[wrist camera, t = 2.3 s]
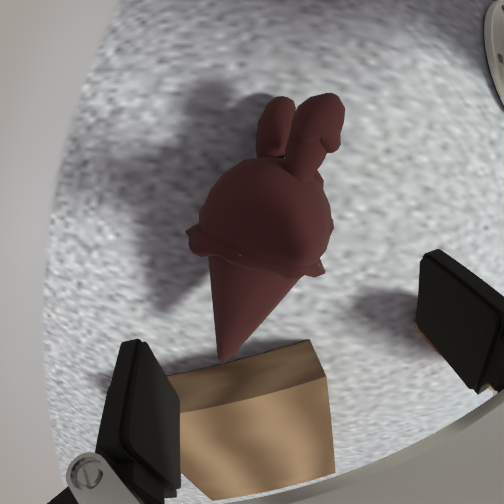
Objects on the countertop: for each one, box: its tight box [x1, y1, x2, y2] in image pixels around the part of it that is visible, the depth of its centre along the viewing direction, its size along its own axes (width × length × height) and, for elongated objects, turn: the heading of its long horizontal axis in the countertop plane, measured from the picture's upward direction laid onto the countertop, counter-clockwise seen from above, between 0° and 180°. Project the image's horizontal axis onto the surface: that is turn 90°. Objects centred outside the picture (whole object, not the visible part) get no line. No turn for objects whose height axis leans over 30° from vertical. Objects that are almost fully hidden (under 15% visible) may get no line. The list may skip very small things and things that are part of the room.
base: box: [167, 340, 335, 501], centre depth 25 cm, size 14×18×4 cm
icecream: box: [185, 93, 345, 361], centre depth 16 cm, size 7×7×15 cm
